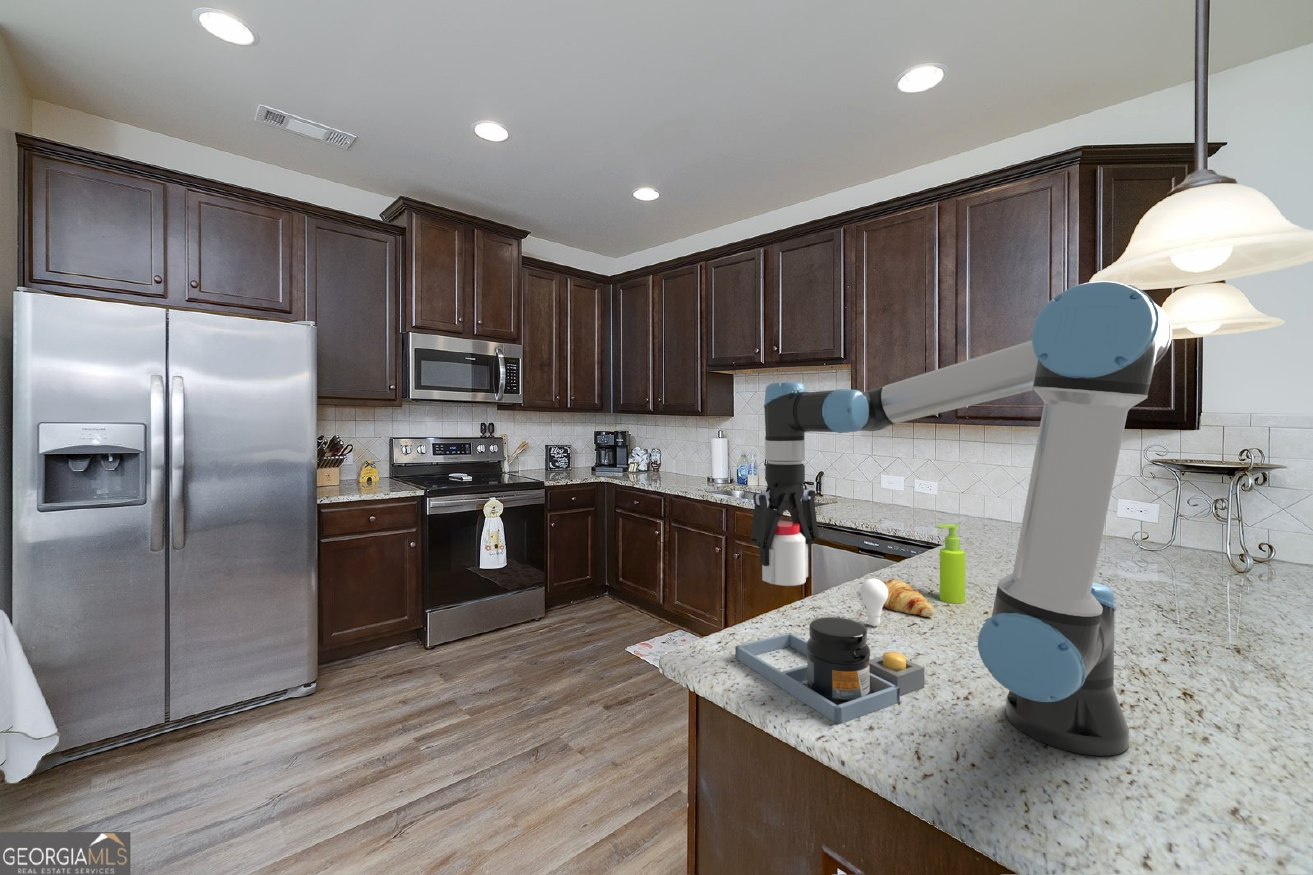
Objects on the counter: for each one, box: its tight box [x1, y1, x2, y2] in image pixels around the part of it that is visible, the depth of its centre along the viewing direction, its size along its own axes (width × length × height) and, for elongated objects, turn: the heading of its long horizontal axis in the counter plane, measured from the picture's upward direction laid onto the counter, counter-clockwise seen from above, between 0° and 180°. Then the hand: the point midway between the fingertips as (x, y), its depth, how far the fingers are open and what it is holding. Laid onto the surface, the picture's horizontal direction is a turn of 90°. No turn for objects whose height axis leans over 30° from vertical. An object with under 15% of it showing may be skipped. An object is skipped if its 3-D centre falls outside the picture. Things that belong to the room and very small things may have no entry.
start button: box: [882, 651, 907, 672], centre depth 98 cm, size 4×4×3 cm
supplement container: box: [806, 616, 871, 705], centre depth 95 cm, size 10×10×12 cm
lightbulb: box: [859, 578, 888, 627], centre depth 126 cm, size 6×6×11 cm
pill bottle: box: [765, 521, 807, 587], centre depth 106 cm, size 8×8×11 cm
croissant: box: [882, 578, 935, 618], centre depth 139 cm, size 21×10×8 cm, turn 24°
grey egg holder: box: [870, 655, 925, 697], centre depth 98 cm, size 7×7×4 cm
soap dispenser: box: [935, 523, 966, 605], centre depth 143 cm, size 6×7×20 cm
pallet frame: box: [734, 632, 901, 725], centre depth 101 cm, size 27×14×2 cm, turn 27°
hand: (785, 578), depth 107 cm, fingers closed on pill bottle, 8 cm apart
